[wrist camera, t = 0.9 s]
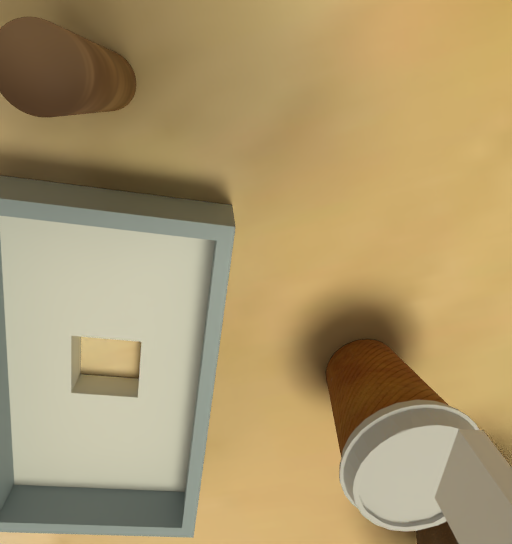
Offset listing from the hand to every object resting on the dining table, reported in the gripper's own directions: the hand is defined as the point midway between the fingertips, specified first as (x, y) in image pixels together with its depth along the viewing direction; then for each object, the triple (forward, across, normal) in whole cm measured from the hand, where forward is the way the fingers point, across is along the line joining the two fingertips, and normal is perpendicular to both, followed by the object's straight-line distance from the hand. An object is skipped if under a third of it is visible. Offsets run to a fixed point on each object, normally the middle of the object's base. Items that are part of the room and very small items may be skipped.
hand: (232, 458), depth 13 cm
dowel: (+22, -8, +9) cm, 25 cm away
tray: (+22, -8, -11) cm, 25 cm away
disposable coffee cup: (+22, +13, -12) cm, 28 cm away
